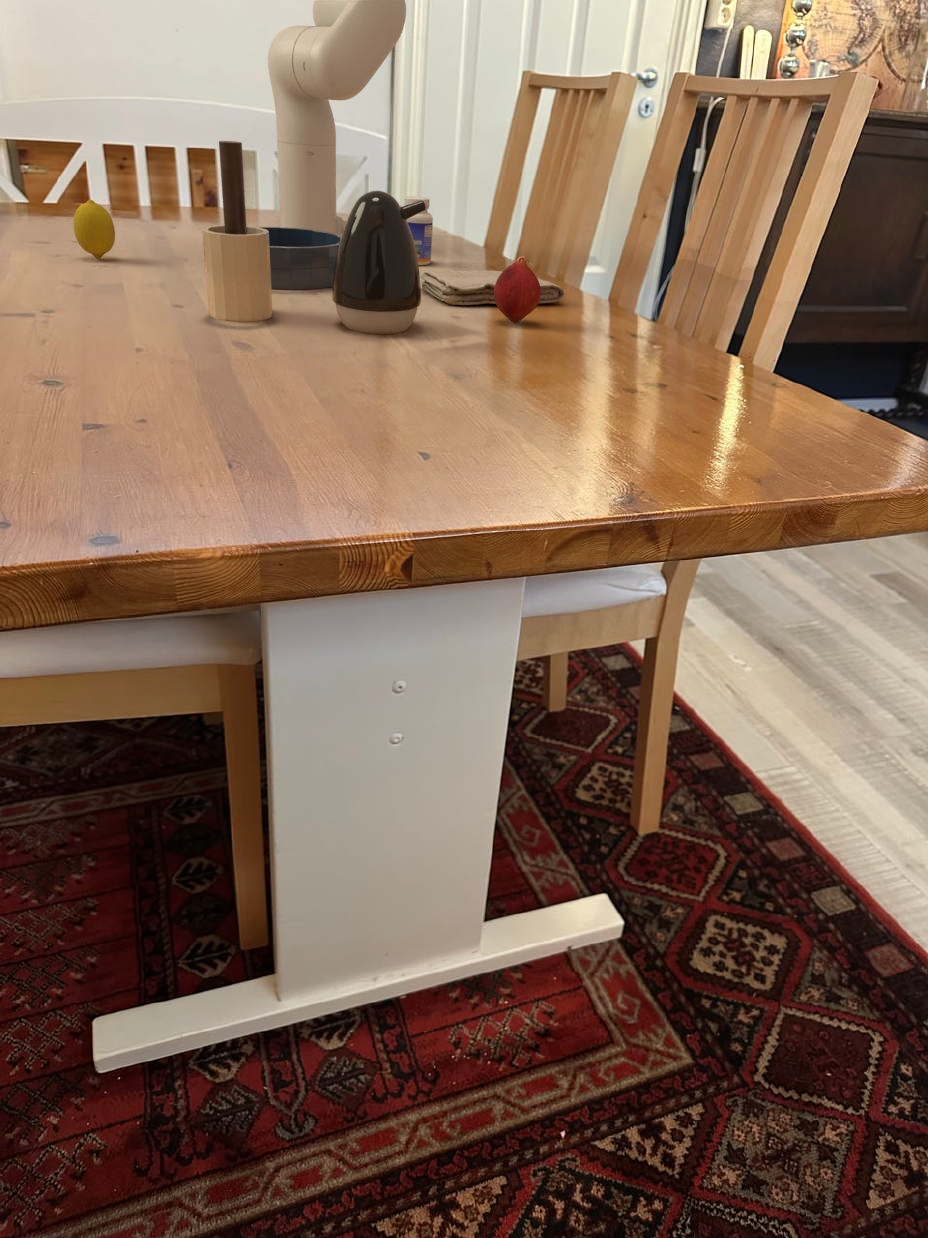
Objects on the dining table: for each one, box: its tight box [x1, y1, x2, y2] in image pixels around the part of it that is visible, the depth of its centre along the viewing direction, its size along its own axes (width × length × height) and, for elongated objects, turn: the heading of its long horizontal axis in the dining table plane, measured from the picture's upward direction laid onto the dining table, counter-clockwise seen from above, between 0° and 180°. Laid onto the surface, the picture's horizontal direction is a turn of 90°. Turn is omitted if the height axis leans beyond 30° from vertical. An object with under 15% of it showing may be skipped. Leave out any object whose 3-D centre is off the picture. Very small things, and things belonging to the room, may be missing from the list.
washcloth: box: [420, 269, 565, 306], centre depth 127 cm, size 12×18×3 cm, turn 111°
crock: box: [201, 224, 273, 323], centre depth 104 cm, size 7×7×10 cm
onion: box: [494, 255, 541, 324], centre depth 113 cm, size 6×6×8 cm
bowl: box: [258, 226, 341, 291], centre depth 125 cm, size 18×18×6 cm
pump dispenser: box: [331, 190, 426, 335], centre depth 102 cm, size 10×10×15 cm
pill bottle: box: [403, 195, 434, 266], centre depth 144 cm, size 5×5×10 cm
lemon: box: [73, 199, 116, 260], centre depth 130 cm, size 6×6×8 cm
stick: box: [218, 140, 247, 234], centre depth 101 cm, size 2×2×18 cm
